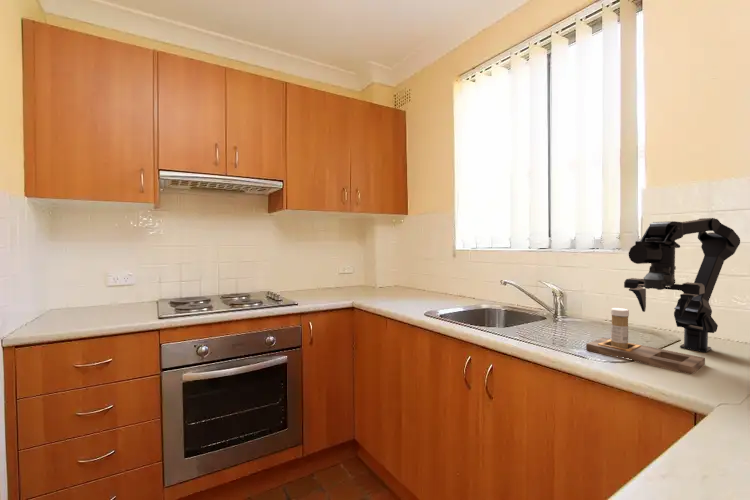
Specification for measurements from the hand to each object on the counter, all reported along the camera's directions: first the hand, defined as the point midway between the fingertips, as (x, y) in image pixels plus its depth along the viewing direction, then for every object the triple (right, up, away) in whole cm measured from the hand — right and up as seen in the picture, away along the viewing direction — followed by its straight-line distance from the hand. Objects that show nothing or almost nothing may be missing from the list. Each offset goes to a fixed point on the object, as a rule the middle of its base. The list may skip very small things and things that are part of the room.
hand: (661, 314), depth 113 cm
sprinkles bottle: (-12, -12, +2) cm, 17 cm away
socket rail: (-8, -12, -3) cm, 15 cm away
